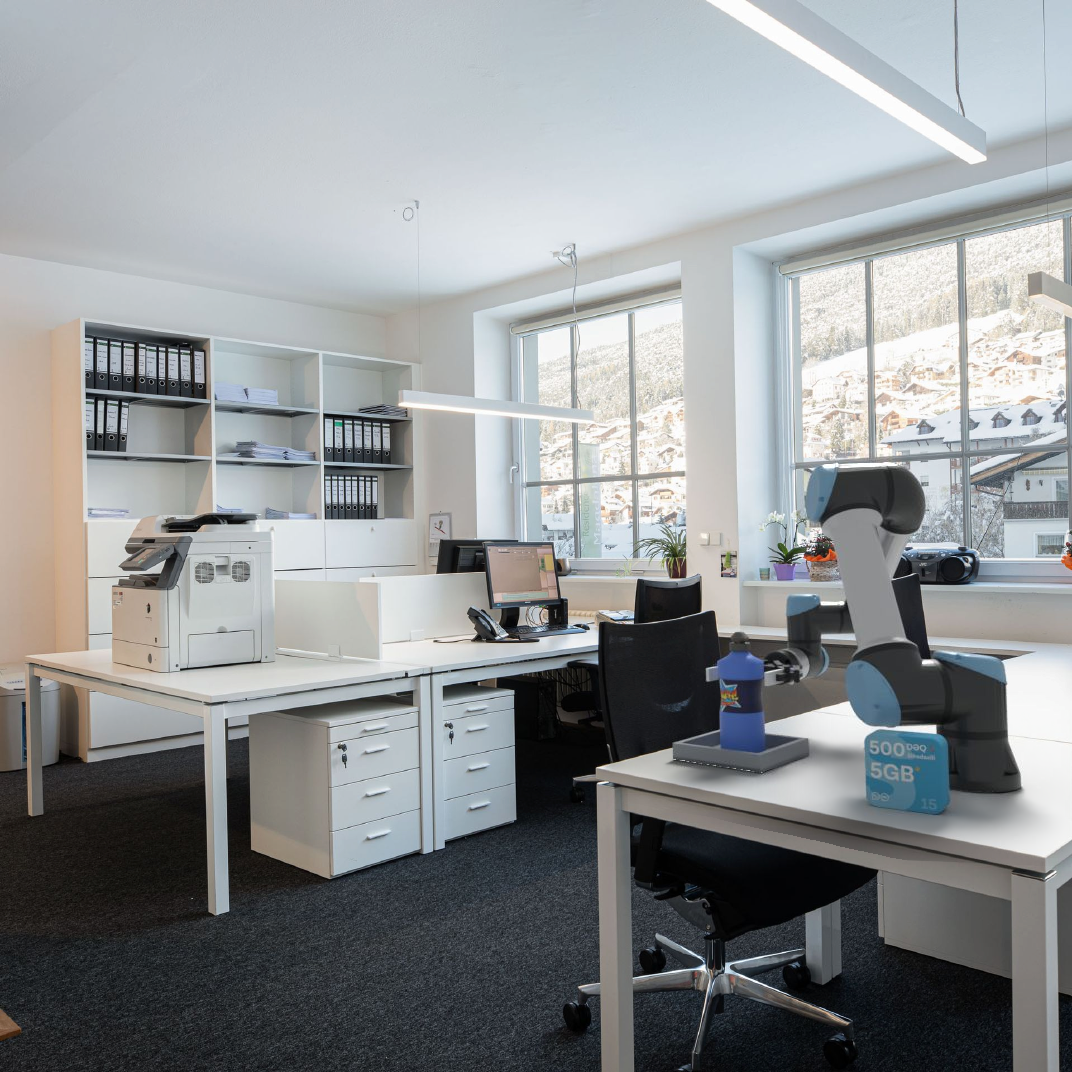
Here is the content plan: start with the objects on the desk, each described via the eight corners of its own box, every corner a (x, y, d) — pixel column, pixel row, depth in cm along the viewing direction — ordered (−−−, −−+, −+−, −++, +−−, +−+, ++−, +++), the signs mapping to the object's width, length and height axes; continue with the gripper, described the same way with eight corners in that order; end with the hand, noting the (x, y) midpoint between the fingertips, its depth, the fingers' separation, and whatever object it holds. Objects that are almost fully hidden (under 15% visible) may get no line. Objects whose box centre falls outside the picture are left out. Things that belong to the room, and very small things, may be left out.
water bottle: (741, 760, 184) (737, 634, 185) (710, 752, 192) (707, 632, 193) (776, 754, 188) (772, 632, 189) (744, 747, 197) (741, 629, 197)
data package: (866, 805, 152) (863, 732, 152) (874, 799, 156) (871, 728, 156) (943, 816, 145) (940, 739, 145) (950, 809, 149) (947, 734, 149)
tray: (760, 773, 176) (760, 755, 176) (673, 760, 190) (672, 743, 190) (808, 755, 191) (808, 738, 191) (724, 744, 204) (723, 728, 205)
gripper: (839, 687, 198) (792, 700, 182) (735, 679, 214) (685, 690, 199) (838, 652, 198) (791, 662, 182) (734, 647, 215) (684, 655, 199)
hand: (736, 677), depth 190 cm, fingers open, 13 cm apart
